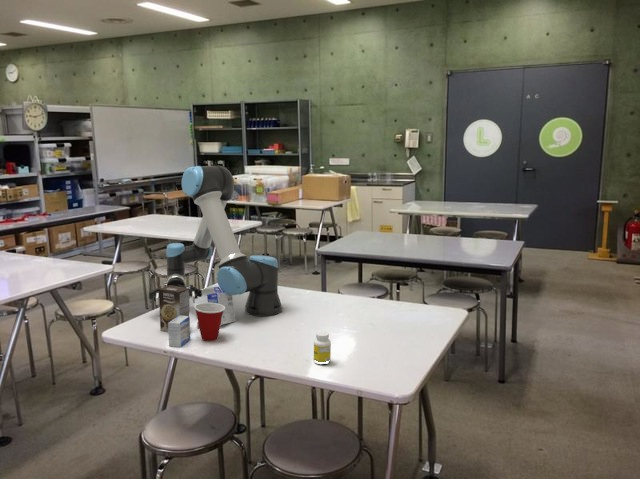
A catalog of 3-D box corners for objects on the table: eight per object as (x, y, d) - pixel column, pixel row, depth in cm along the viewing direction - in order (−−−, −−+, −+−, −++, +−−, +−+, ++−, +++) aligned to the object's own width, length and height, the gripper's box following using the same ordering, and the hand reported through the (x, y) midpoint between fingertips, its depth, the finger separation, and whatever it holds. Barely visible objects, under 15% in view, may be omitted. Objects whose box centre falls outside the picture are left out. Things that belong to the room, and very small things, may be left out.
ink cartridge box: (224, 322, 209) (220, 286, 210) (236, 321, 207) (232, 284, 207) (209, 326, 200) (205, 288, 201) (221, 325, 198) (217, 286, 198)
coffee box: (159, 331, 194) (157, 288, 191) (170, 325, 200) (169, 284, 197) (180, 334, 191) (178, 291, 188) (190, 329, 197) (189, 287, 194)
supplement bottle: (313, 358, 172) (313, 330, 171) (329, 358, 173) (330, 330, 171) (314, 365, 167) (314, 336, 165) (331, 365, 168) (331, 336, 166)
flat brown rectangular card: (210, 322, 205) (210, 321, 205) (210, 328, 198) (210, 327, 198) (197, 322, 204) (197, 321, 204) (197, 329, 197) (197, 328, 197)
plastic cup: (225, 343, 184) (225, 310, 182) (193, 344, 182) (193, 311, 180) (225, 332, 194) (225, 301, 192) (195, 333, 193) (195, 301, 190)
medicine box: (180, 347, 179) (179, 323, 178) (168, 346, 180) (167, 322, 179) (190, 339, 187) (190, 316, 185) (179, 338, 188) (178, 314, 186)
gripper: (206, 292, 226) (208, 308, 206) (145, 295, 220) (141, 311, 200) (206, 275, 225) (208, 289, 205) (144, 277, 219) (141, 292, 198)
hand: (175, 300), depth 202 cm, fingers open, 13 cm apart
